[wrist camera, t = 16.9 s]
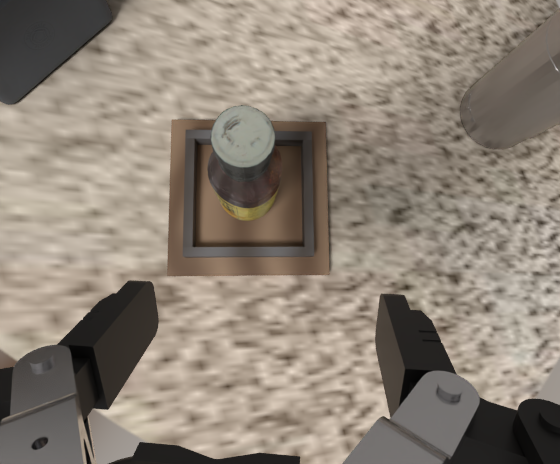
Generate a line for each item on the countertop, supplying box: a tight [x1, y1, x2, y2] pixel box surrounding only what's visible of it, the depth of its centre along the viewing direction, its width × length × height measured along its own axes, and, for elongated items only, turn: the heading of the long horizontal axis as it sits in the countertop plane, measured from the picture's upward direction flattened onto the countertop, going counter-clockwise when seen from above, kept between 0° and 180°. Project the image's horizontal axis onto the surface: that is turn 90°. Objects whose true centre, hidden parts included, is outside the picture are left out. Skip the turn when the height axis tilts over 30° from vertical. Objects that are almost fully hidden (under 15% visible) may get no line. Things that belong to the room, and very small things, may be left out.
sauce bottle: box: [207, 105, 282, 221], centre depth 33 cm, size 6×6×20 cm
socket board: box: [167, 120, 329, 276], centre depth 42 cm, size 18×18×4 cm
